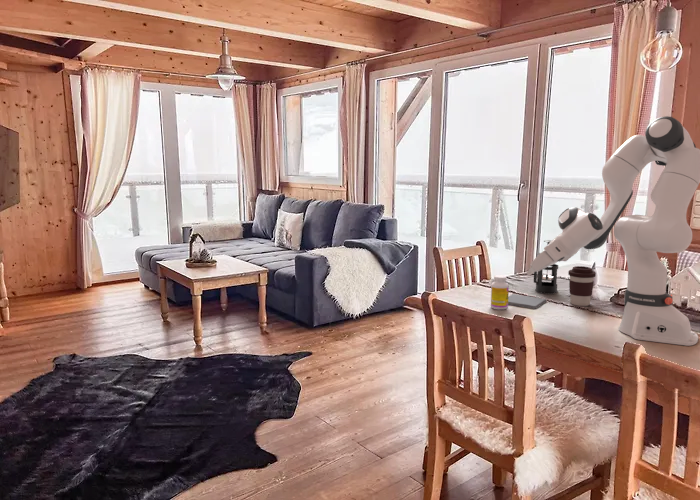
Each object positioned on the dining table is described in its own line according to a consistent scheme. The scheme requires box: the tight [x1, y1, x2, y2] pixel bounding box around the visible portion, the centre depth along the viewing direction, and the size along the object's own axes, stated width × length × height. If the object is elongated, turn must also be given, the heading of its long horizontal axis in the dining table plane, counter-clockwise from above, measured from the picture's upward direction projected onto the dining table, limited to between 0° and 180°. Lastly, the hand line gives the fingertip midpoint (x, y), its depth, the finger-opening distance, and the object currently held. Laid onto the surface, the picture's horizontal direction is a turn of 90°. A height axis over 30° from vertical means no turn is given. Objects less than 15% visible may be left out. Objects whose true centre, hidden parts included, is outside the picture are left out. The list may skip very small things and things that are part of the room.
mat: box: [508, 293, 547, 310], centre depth 206 cm, size 14×13×1 cm
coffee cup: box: [567, 265, 597, 307], centre depth 201 cm, size 10×10×15 cm
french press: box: [533, 239, 559, 295], centre depth 221 cm, size 12×9×23 cm
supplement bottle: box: [490, 274, 510, 311], centre depth 198 cm, size 7×7×13 cm
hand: (532, 272), depth 189 cm, fingers open, 8 cm apart
